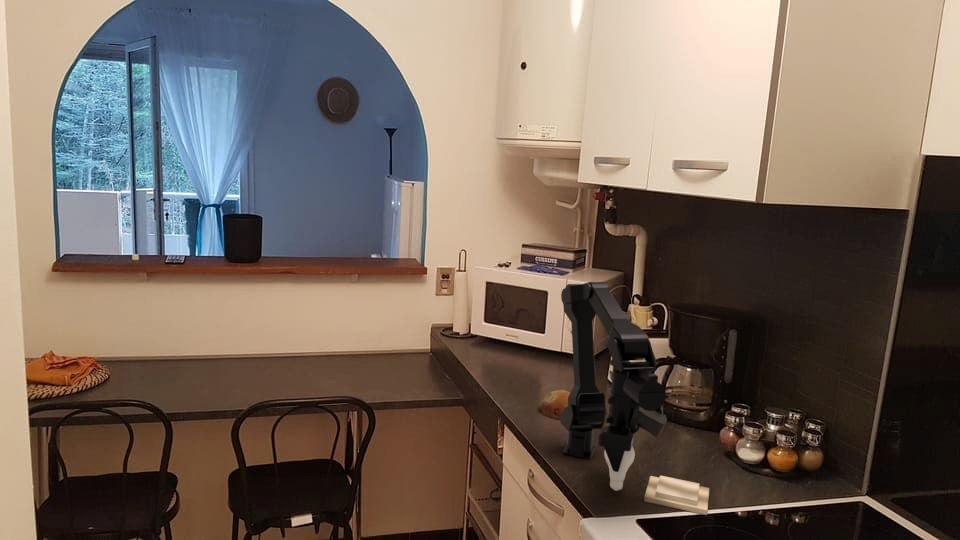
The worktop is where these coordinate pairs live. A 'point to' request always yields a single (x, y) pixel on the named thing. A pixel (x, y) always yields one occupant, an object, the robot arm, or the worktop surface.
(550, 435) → the worktop surface
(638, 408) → the robot arm
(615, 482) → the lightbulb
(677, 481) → the base
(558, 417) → the bread roll
